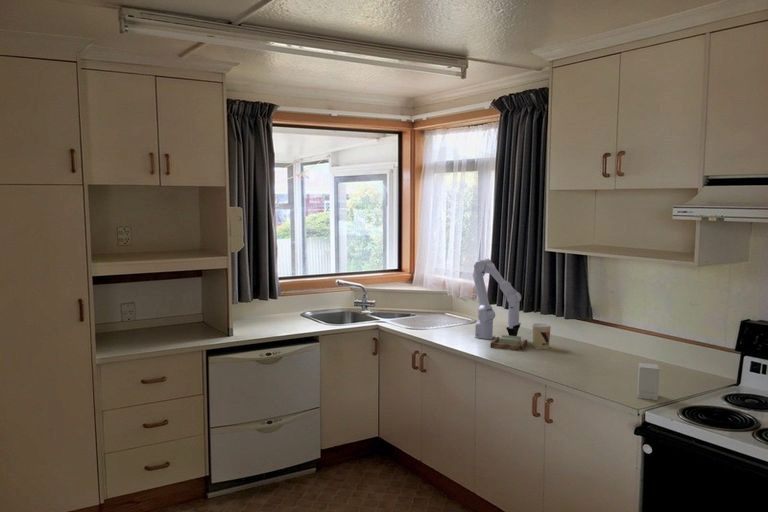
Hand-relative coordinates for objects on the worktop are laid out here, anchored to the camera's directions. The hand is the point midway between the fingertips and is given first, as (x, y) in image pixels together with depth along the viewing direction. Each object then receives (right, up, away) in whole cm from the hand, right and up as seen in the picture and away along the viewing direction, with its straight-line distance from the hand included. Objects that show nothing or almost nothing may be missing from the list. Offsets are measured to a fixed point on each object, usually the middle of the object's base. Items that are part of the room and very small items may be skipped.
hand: (513, 338), depth 332 cm
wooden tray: (-4, -2, -9) cm, 10 cm away
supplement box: (+34, -11, -90) cm, 97 cm away
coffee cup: (+12, -3, -12) cm, 17 cm away
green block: (-3, -2, -8) cm, 9 cm away
